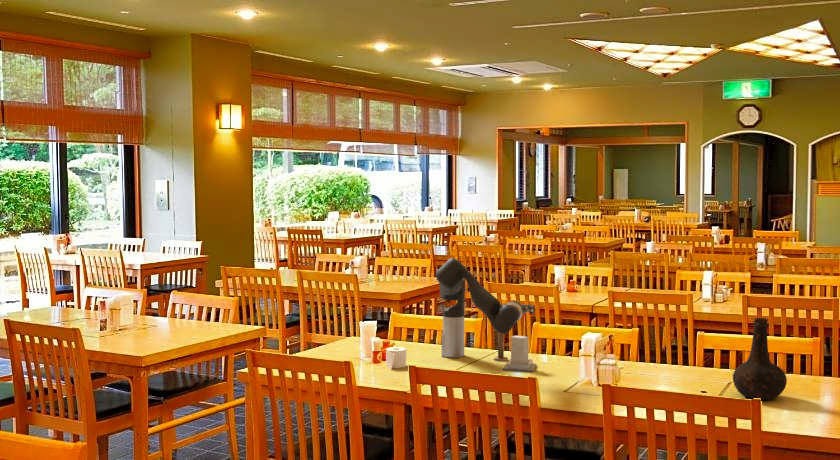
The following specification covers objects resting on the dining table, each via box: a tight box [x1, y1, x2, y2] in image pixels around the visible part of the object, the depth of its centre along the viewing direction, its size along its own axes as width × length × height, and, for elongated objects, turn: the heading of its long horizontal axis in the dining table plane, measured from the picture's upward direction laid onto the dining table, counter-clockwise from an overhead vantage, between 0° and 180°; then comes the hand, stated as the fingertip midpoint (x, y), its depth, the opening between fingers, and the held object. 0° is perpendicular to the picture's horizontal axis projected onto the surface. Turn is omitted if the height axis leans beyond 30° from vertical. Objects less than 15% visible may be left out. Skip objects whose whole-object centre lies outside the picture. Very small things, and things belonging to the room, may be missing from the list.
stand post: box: [493, 332, 509, 362], centre depth 379 cm, size 6×6×15 cm
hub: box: [502, 358, 538, 373], centre depth 364 cm, size 12×12×3 cm
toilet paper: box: [385, 346, 407, 370], centre depth 367 cm, size 8×11×7 cm
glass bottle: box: [732, 317, 788, 401], centre depth 316 cm, size 18×18×28 cm
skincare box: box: [510, 335, 529, 364], centre depth 363 cm, size 6×4×12 cm
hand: (518, 306), depth 357 cm, fingers open, 8 cm apart
